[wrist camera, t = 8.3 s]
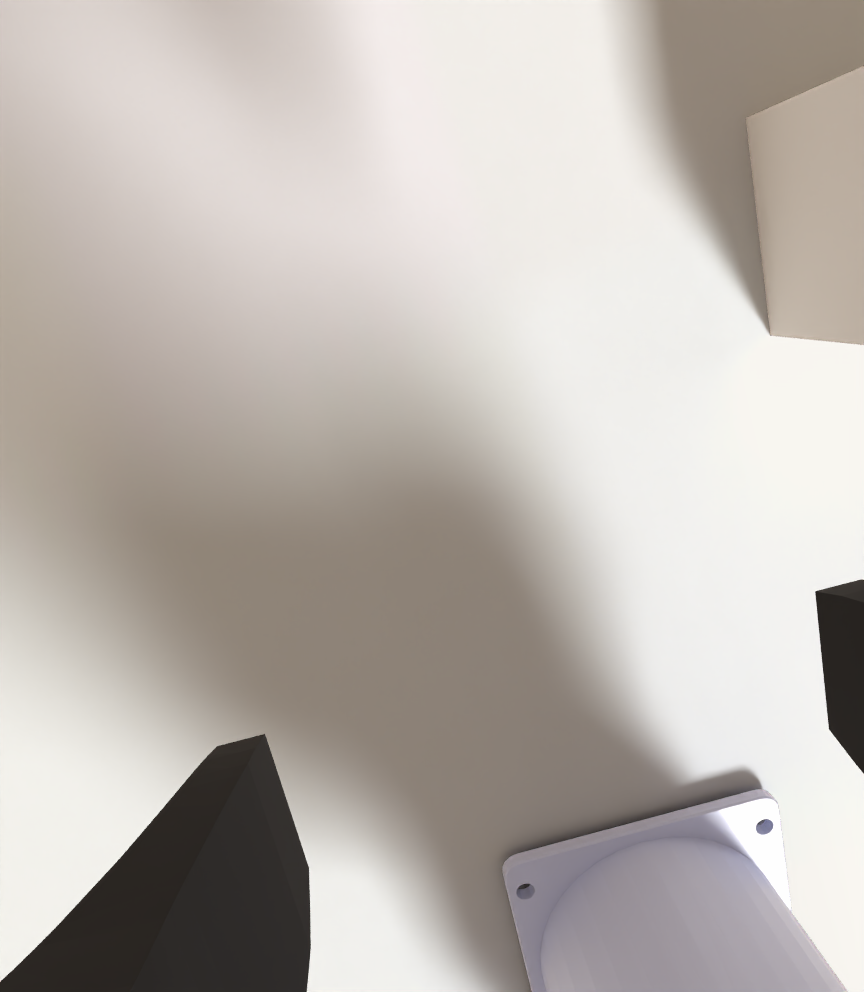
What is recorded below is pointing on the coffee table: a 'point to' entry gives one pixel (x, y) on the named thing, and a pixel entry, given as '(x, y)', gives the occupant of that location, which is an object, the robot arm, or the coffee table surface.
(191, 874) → the robot arm
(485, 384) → the coffee table surface
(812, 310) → the grey cube
